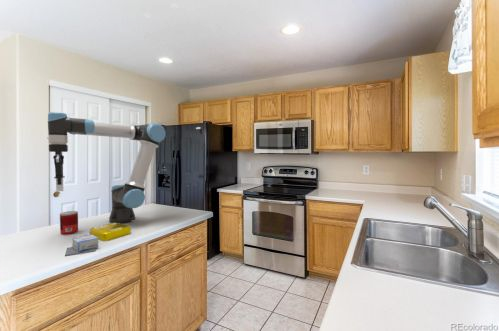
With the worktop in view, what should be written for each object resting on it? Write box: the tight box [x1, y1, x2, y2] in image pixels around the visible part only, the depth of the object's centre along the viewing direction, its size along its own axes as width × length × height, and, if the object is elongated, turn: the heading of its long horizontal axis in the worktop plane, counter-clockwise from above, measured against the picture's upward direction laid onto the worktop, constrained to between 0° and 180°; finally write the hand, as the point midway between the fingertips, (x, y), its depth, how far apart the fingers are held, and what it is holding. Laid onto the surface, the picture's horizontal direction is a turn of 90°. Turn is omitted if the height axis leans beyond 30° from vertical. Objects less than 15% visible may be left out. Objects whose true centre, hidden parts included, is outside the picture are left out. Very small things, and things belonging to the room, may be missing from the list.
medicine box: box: [71, 233, 99, 252], centre depth 115 cm, size 8×4×9 cm
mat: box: [64, 246, 96, 257], centre depth 113 cm, size 11×10×1 cm
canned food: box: [59, 210, 79, 236], centre depth 137 cm, size 8×8×11 cm
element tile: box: [89, 223, 132, 242], centre depth 134 cm, size 15×15×5 cm
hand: (59, 190), depth 127 cm, fingers closed
